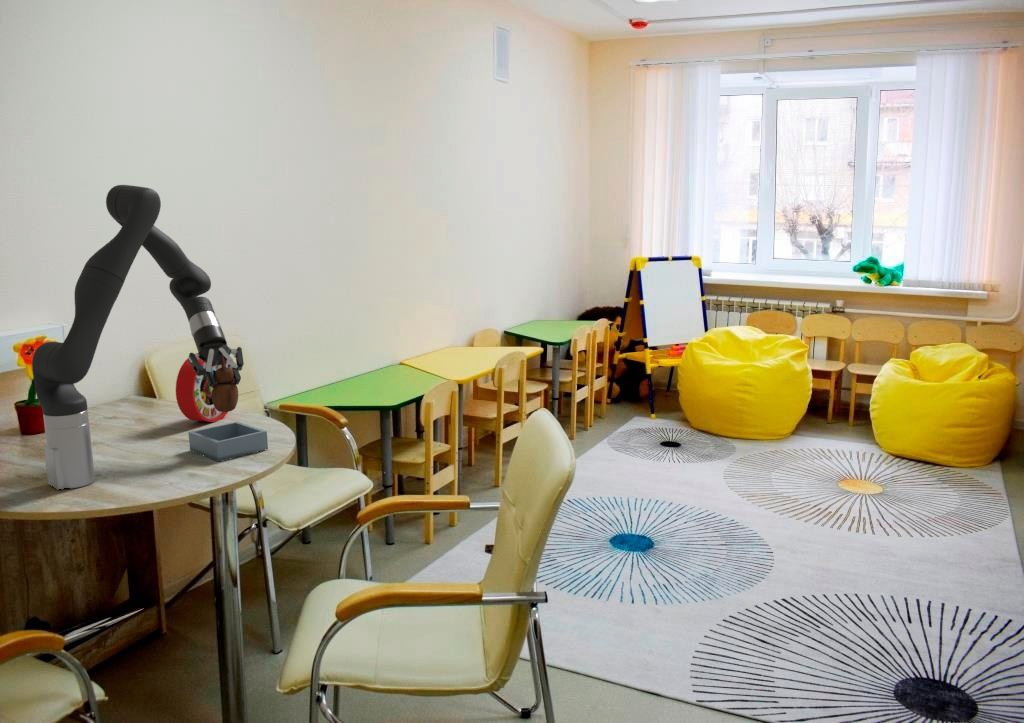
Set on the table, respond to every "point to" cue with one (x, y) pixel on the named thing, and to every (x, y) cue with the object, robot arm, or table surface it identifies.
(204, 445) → the box
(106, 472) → the table surface
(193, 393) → the toy clock
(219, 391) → the wooden figurine
